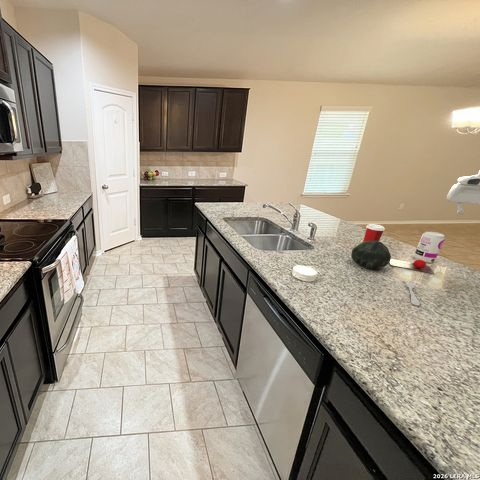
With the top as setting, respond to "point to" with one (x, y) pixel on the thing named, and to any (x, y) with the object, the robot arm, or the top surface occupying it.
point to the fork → (412, 294)
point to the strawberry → (419, 263)
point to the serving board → (409, 266)
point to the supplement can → (429, 246)
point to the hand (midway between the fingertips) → (476, 215)
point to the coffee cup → (373, 232)
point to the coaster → (304, 273)
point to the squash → (371, 254)
